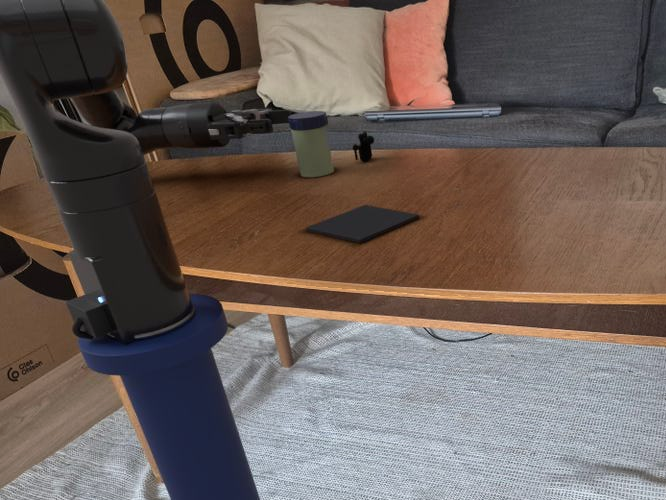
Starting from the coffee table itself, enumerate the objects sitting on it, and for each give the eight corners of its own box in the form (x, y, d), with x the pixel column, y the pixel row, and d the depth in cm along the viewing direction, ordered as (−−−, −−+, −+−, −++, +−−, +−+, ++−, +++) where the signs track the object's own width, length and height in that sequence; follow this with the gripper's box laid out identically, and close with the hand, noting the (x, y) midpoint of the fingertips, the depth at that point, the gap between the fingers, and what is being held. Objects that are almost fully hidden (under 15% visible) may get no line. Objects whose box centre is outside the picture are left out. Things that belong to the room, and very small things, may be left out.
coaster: (360, 243, 85) (359, 239, 85) (306, 231, 92) (305, 227, 91) (419, 218, 92) (418, 214, 92) (365, 208, 99) (364, 204, 98)
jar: (317, 178, 117) (305, 121, 112) (293, 176, 120) (281, 120, 115) (341, 169, 121) (330, 114, 116) (317, 167, 124) (306, 113, 119)
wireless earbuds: (371, 155, 129) (367, 128, 126) (383, 155, 128) (379, 128, 125) (353, 165, 123) (348, 136, 121) (365, 165, 122) (360, 136, 120)
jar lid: (320, 120, 120) (318, 109, 119) (333, 124, 115) (331, 113, 114) (285, 127, 117) (282, 115, 116) (297, 131, 112) (294, 120, 112)
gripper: (222, 139, 127) (301, 134, 124) (182, 157, 115) (269, 152, 112) (210, 97, 124) (292, 91, 121) (168, 111, 112) (258, 105, 109)
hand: (281, 120), depth 117 cm, fingers open, 8 cm apart
